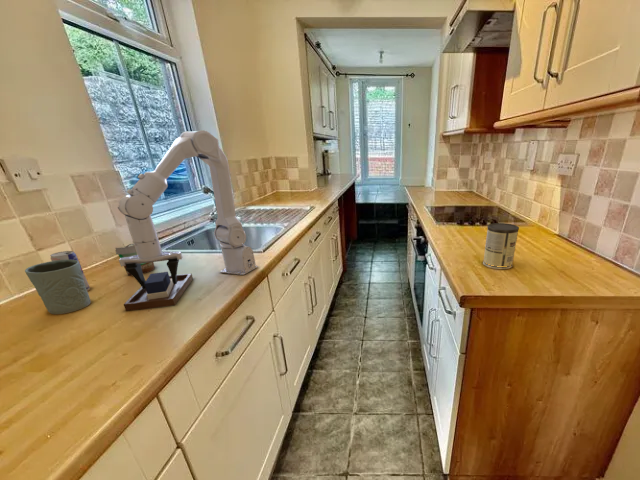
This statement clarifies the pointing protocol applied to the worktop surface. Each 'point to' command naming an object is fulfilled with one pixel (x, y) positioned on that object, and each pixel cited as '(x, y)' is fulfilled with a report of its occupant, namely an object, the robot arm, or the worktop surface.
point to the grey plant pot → (60, 285)
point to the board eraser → (158, 285)
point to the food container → (131, 251)
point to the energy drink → (68, 256)
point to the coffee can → (500, 245)
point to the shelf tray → (142, 302)
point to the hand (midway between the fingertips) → (160, 285)
